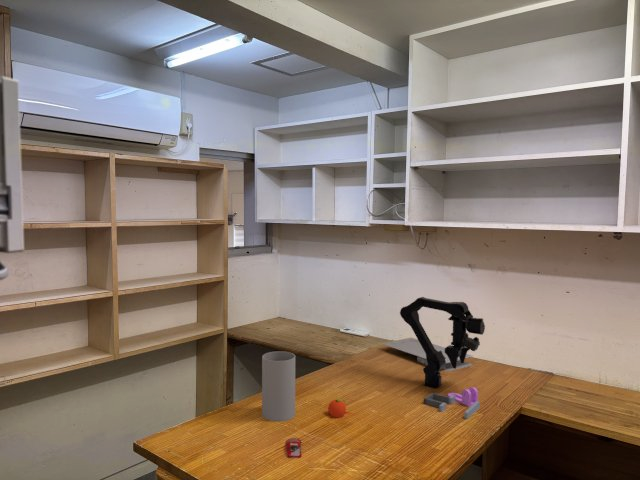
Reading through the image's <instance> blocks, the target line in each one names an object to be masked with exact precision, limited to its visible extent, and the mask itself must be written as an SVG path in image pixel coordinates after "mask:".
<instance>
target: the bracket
mask: <svg viewBox="0 0 640 480" xmlns="http://www.w3.org/2000/svg"><path fill="white" fill-rule="evenodd" d="M452 395H455V396H456V397H455V402H457V403H458V404H459V403H460V404H462V405H463V406H467V407H468V408H470V407H471V406H472V405H473V404H474V403H475V402H476V401H479V391H478V389H477V388H476V387H475V386H473V387H470V388H464V389H463V390H462V392H461V394H460V393H457V392H449V393H447V396H448V397H451V396H452Z"/></svg>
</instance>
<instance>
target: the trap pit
mask: <svg viewBox="0 0 640 480" xmlns="http://www.w3.org/2000/svg"><path fill="white" fill-rule="evenodd" d="M449 398H450V397H448V395H444V394H440V393H435V392H431V393H429V394H428V395H427V396H425V397H423V405H426V406H429V407H430V406H431V407H434V408H437V409H439V405H441V404H442V403H443V402H444V403H446V404H449ZM449 405H450V404H449Z"/></svg>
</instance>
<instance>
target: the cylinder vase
mask: <svg viewBox="0 0 640 480" xmlns="http://www.w3.org/2000/svg"><path fill="white" fill-rule="evenodd" d="M261 358H262V359H261V368H262V369H261V407H262V408H261V416H262V417H263V419H266V420H267V421H272V422H286V421H289V420H292V419H293V418H295V416H296V355H295V354H294V353H293V352H290V351H282V350H281V351H278V350H276V351H269V352H266V353H264V354H262V357H261Z"/></svg>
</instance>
